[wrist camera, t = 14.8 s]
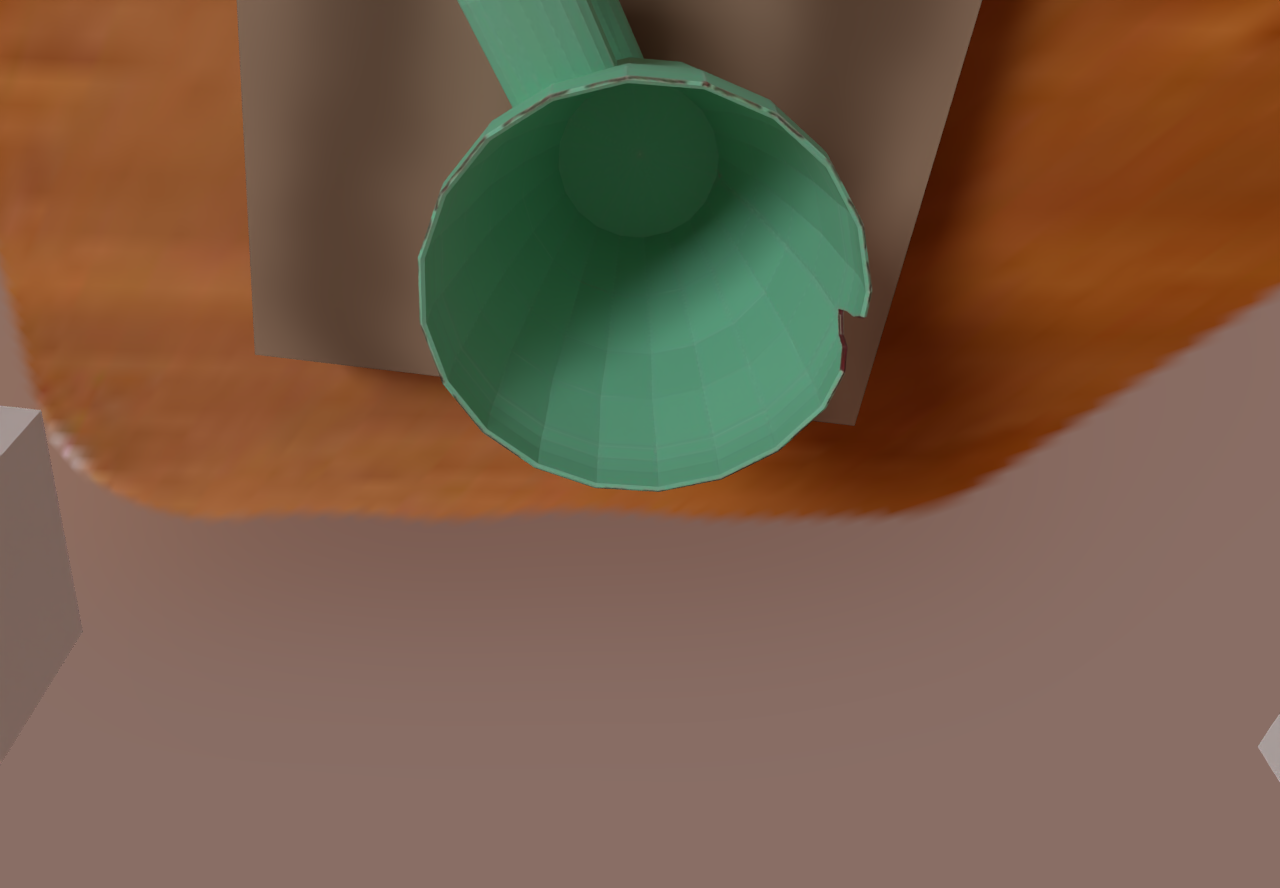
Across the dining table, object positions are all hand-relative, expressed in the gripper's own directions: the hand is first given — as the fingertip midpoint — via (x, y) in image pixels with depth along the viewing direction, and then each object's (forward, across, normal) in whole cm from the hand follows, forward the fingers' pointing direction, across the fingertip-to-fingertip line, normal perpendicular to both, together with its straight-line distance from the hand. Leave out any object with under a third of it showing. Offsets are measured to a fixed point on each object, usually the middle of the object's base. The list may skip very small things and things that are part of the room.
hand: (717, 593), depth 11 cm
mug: (+23, +2, +1) cm, 23 cm away
